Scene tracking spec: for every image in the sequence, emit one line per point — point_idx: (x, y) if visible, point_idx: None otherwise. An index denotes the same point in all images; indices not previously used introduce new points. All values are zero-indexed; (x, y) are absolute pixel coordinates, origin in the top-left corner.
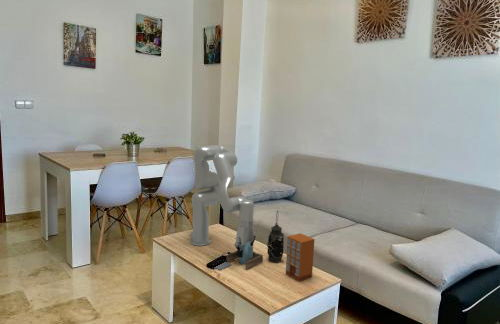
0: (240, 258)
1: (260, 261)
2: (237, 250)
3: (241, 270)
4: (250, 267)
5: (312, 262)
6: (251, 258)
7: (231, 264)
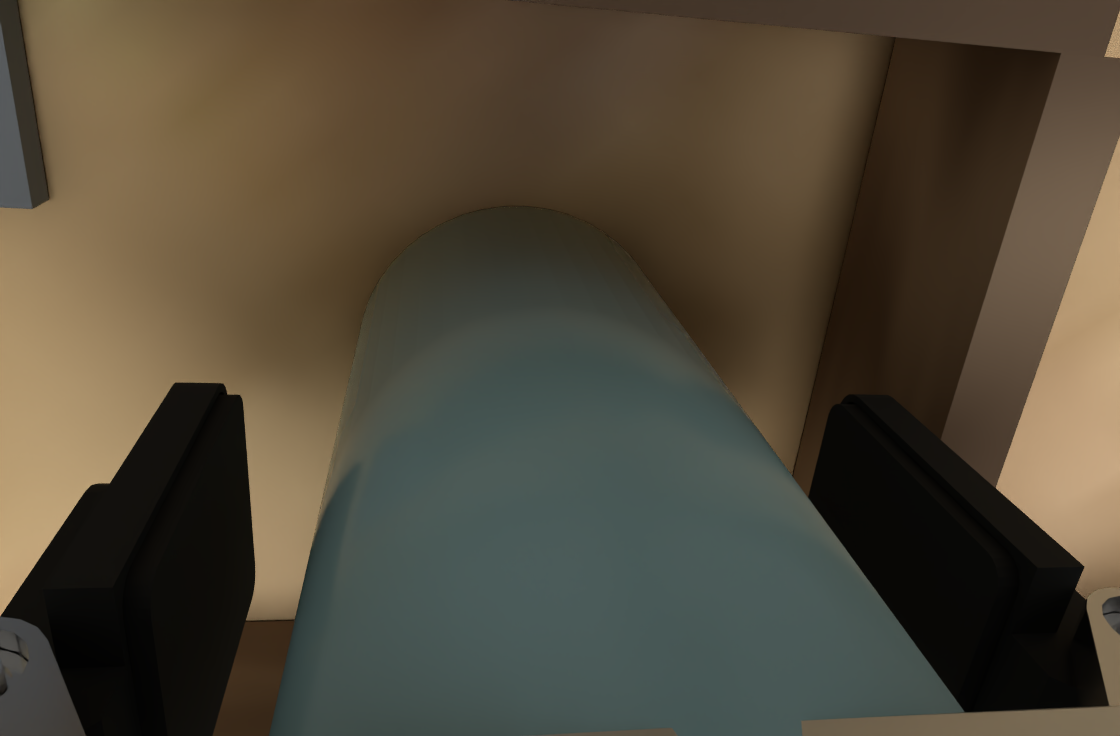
0: (349, 385)
1: None
2: (82, 545)
3: None
4: None
5: None
6: (825, 370)
7: (12, 207)
